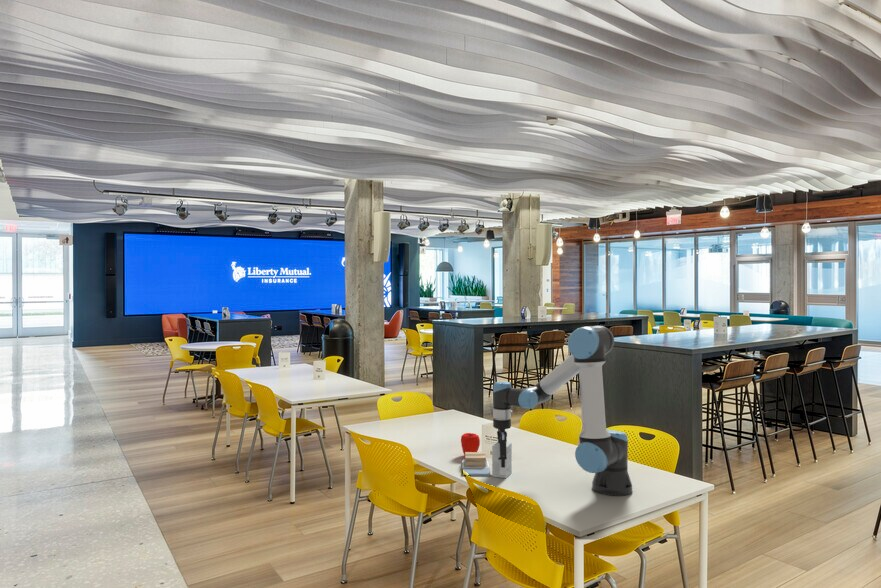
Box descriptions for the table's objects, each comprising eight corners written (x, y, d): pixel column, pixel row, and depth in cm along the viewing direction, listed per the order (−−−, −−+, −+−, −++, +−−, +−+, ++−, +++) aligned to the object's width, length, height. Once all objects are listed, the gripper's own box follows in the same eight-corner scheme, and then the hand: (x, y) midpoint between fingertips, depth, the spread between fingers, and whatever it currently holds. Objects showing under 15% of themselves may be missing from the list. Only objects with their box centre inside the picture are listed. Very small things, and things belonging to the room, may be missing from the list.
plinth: (485, 467, 256) (485, 457, 256) (465, 466, 256) (465, 457, 256) (485, 461, 265) (485, 452, 265) (465, 460, 265) (465, 452, 265)
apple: (483, 455, 278) (483, 432, 278) (473, 459, 271) (473, 436, 271) (467, 452, 283) (467, 430, 283) (457, 456, 276) (457, 433, 276)
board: (490, 476, 246) (490, 473, 246) (462, 475, 247) (462, 473, 247) (488, 462, 266) (488, 459, 266) (461, 462, 267) (461, 459, 267)
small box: (497, 471, 253) (498, 441, 253) (512, 473, 251) (512, 442, 251) (491, 476, 246) (491, 445, 246) (506, 478, 243) (506, 447, 243)
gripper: (513, 424, 237) (513, 479, 237) (508, 413, 259) (508, 463, 259) (494, 424, 237) (494, 479, 237) (491, 412, 259) (491, 463, 260)
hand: (501, 470), depth 248 cm, fingers closed on small box, 10 cm apart
